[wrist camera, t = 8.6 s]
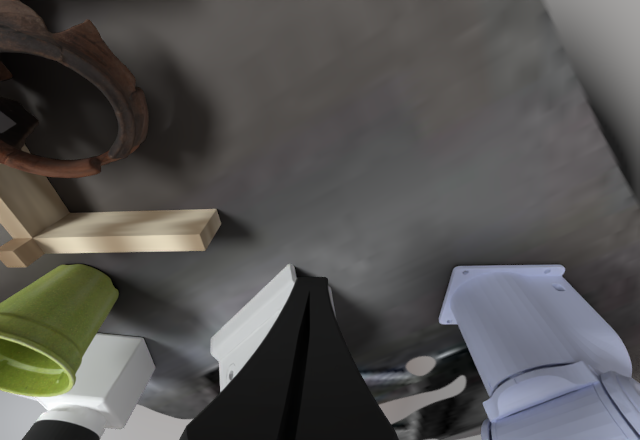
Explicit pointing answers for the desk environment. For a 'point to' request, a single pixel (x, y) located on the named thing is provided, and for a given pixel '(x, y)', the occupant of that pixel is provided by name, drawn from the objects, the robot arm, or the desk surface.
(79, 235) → the cradle
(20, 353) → the plant pot
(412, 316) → the desk surface
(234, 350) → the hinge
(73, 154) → the desk surface
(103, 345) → the medicine bottle
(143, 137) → the pottery mug
